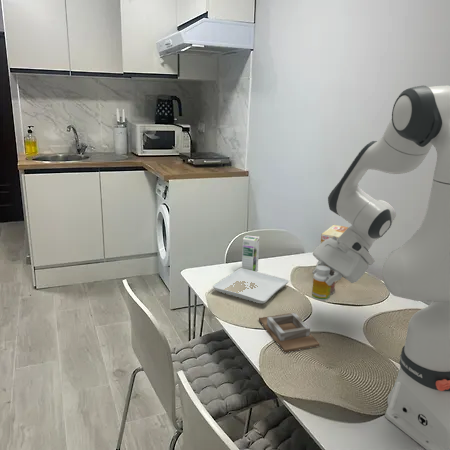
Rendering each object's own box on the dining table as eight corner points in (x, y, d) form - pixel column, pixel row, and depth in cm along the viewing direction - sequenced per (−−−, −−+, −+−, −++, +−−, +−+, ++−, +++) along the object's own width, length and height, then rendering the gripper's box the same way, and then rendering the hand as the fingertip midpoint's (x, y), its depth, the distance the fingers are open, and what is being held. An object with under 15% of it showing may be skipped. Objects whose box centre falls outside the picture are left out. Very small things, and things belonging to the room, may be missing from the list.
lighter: (328, 288, 156) (331, 263, 153) (336, 290, 154) (339, 265, 151) (318, 295, 150) (320, 269, 147) (326, 298, 148) (329, 272, 145)
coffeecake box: (333, 286, 157) (339, 237, 152) (315, 281, 161) (320, 233, 155) (345, 272, 170) (350, 227, 164) (328, 268, 173) (333, 224, 167)
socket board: (319, 346, 119) (320, 335, 118) (284, 353, 115) (285, 342, 114) (289, 315, 135) (290, 306, 134) (258, 320, 132) (259, 310, 131)
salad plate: (239, 274, 166) (240, 266, 165) (289, 287, 156) (289, 279, 155) (210, 294, 149) (211, 285, 148) (264, 310, 139) (265, 301, 138)
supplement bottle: (329, 302, 125) (332, 272, 122) (311, 300, 126) (314, 270, 123) (329, 294, 130) (332, 265, 127) (311, 292, 131) (314, 263, 128)
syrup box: (241, 273, 167) (242, 238, 163) (244, 267, 172) (246, 234, 168) (254, 275, 165) (256, 240, 161) (258, 269, 171) (259, 236, 166)
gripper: (327, 229, 134) (297, 260, 134) (367, 250, 116) (333, 287, 115) (337, 241, 137) (308, 272, 136) (378, 263, 118) (345, 299, 118)
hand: (320, 279), depth 126 cm, fingers closed on supplement bottle, 5 cm apart
